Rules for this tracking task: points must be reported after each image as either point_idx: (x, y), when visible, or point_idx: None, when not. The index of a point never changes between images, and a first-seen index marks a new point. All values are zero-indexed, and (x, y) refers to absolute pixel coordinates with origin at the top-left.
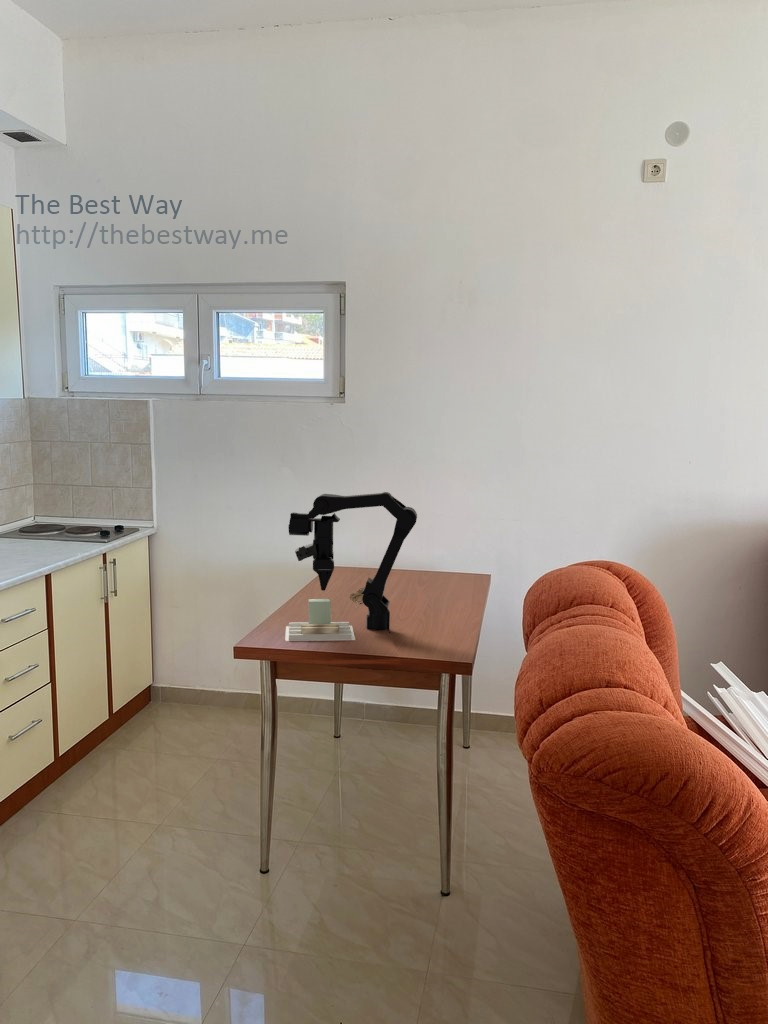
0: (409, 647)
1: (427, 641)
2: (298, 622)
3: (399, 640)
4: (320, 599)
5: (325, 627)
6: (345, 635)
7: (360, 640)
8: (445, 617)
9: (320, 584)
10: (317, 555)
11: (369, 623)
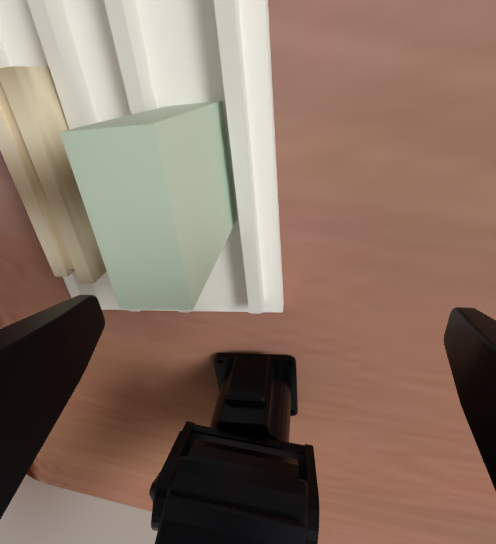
0: (101, 422)
1: (164, 462)
2: (234, 21)
3: (159, 413)
4: (164, 237)
5: (36, 218)
6: (70, 286)
7: (133, 319)
8: (407, 538)
9: (6, 329)
10: None
11: (227, 381)
